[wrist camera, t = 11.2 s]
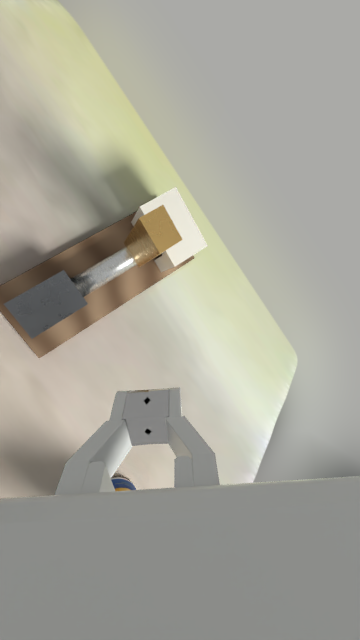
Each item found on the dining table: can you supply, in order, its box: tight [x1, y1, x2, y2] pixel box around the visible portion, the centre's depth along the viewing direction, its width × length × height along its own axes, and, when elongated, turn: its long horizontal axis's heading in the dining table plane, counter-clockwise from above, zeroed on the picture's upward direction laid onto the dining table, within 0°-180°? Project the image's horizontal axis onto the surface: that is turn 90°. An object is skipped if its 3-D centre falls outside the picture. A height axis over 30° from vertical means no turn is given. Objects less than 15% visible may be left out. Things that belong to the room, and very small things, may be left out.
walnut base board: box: [0, 211, 194, 358], centre depth 39 cm, size 29×11×1 cm, turn 123°
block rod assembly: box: [71, 205, 183, 297], centre depth 32 cm, size 18×4×14 cm, turn 123°
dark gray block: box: [4, 270, 88, 339], centre depth 34 cm, size 8×5×5 cm, turn 123°
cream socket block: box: [131, 187, 207, 272], centre depth 38 cm, size 6×9×7 cm, turn 33°
